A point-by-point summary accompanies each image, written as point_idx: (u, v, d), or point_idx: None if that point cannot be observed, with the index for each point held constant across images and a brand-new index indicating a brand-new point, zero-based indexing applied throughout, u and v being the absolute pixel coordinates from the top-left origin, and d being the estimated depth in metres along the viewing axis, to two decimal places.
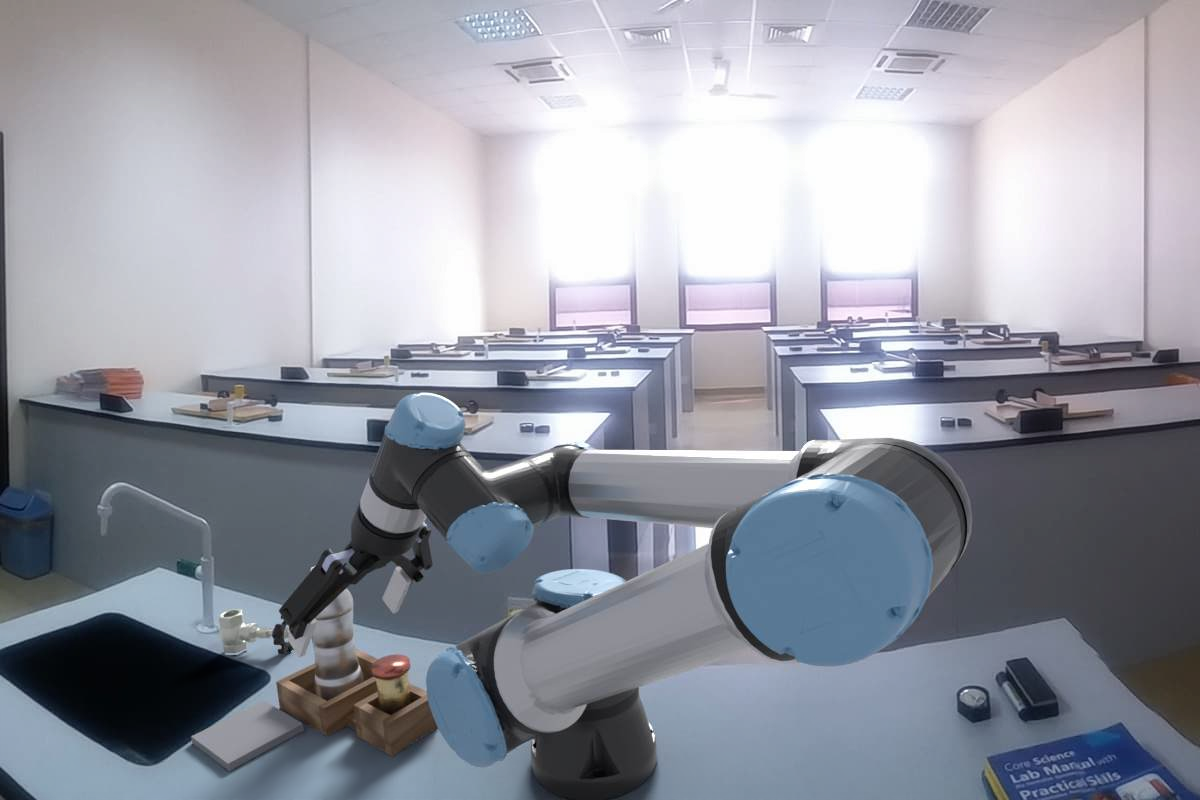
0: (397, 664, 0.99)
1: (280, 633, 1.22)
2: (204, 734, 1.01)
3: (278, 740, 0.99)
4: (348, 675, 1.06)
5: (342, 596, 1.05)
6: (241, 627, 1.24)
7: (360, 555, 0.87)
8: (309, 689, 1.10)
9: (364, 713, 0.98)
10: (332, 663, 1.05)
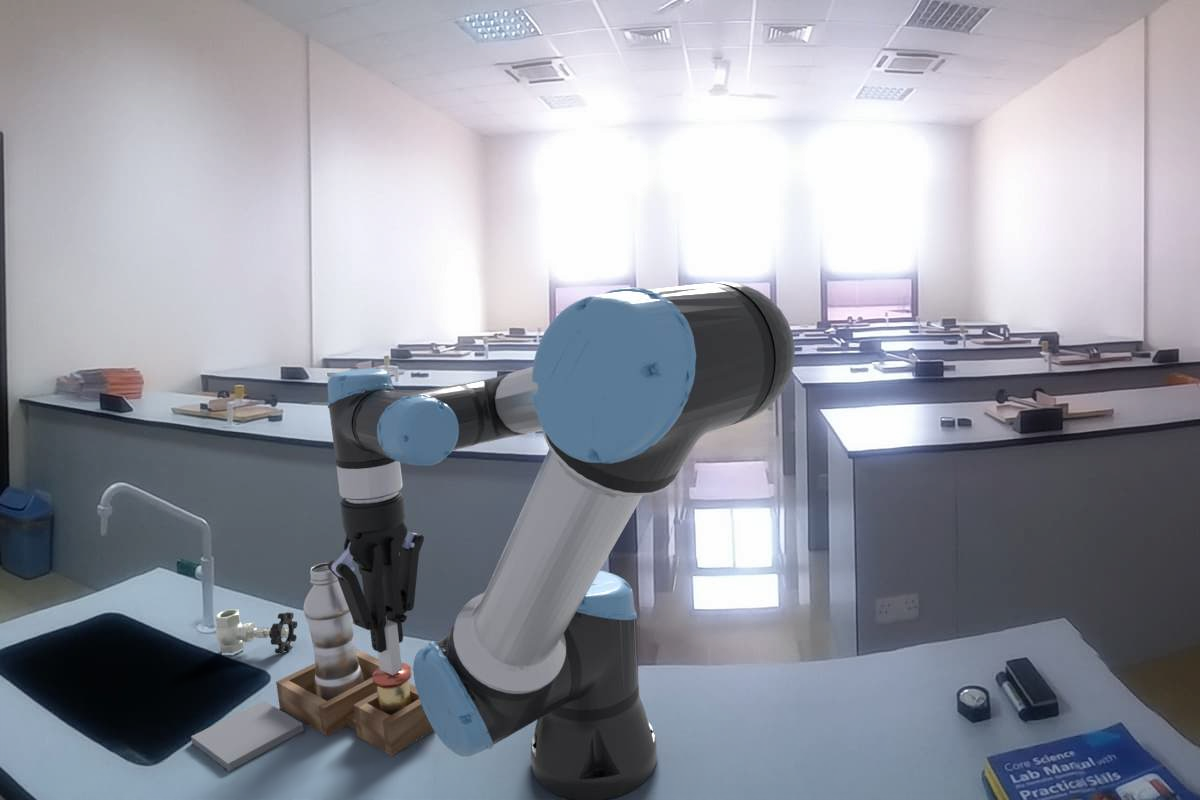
0: (398, 672, 0.99)
1: (277, 633, 1.22)
2: (204, 734, 1.01)
3: (278, 740, 0.99)
4: (348, 675, 1.06)
5: (342, 596, 1.05)
6: (238, 627, 1.24)
7: (353, 546, 0.92)
8: (309, 689, 1.10)
9: (364, 713, 0.98)
10: (332, 663, 1.05)
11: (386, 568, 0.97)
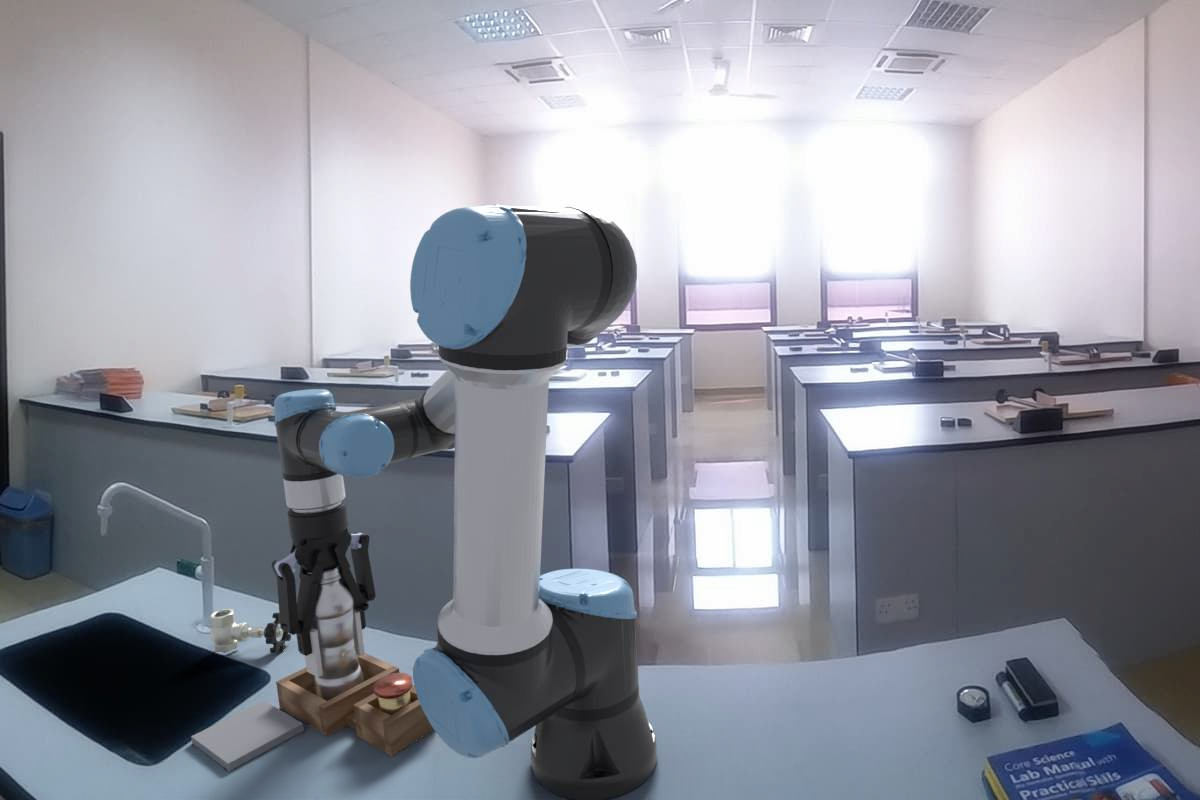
0: (399, 683, 0.99)
1: (272, 632, 1.22)
2: (204, 734, 1.01)
3: (278, 740, 0.99)
4: (348, 675, 1.06)
5: (343, 596, 1.05)
6: (232, 627, 1.24)
7: (300, 550, 1.01)
8: (309, 689, 1.10)
9: (364, 713, 0.98)
10: (332, 663, 1.05)
11: None
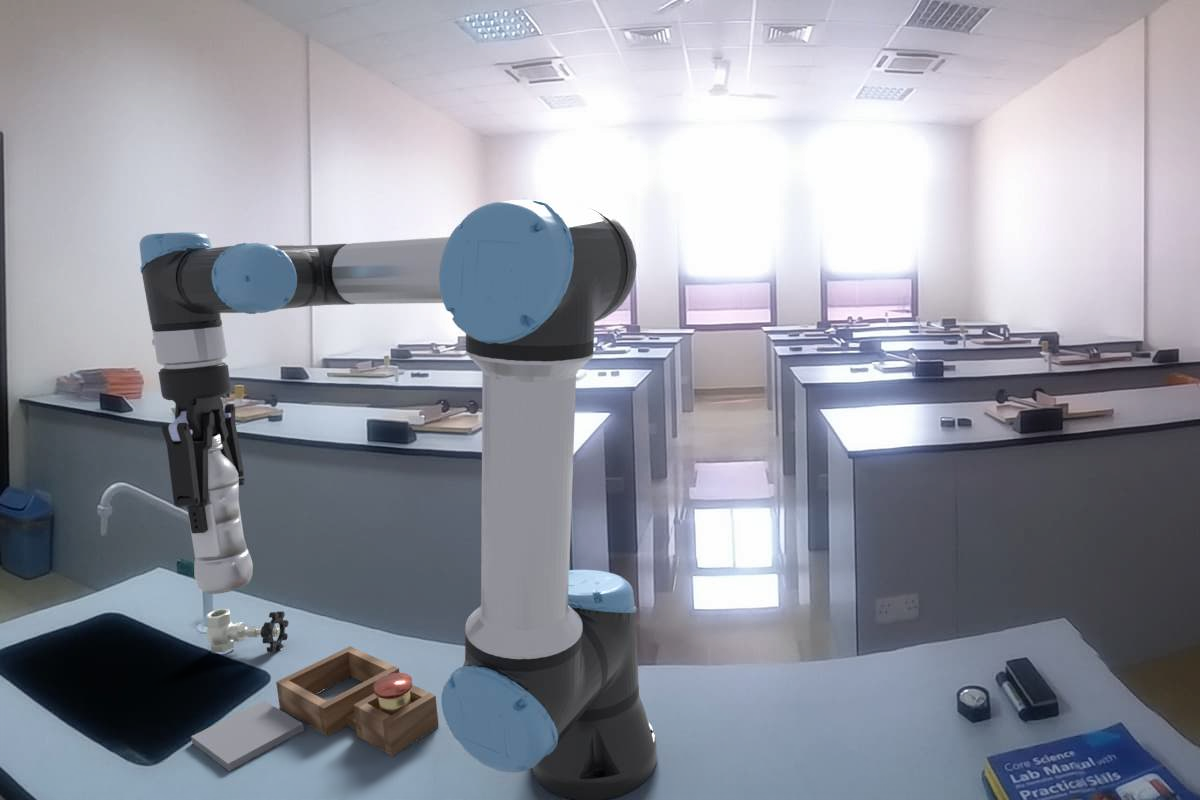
0: (399, 683, 0.99)
1: (269, 631, 1.22)
2: (204, 734, 1.01)
3: (278, 740, 0.99)
4: (242, 552, 0.97)
5: (230, 464, 0.96)
6: (229, 626, 1.25)
7: (192, 410, 0.90)
8: (309, 689, 1.10)
9: (364, 713, 0.98)
10: (228, 540, 0.95)
11: None
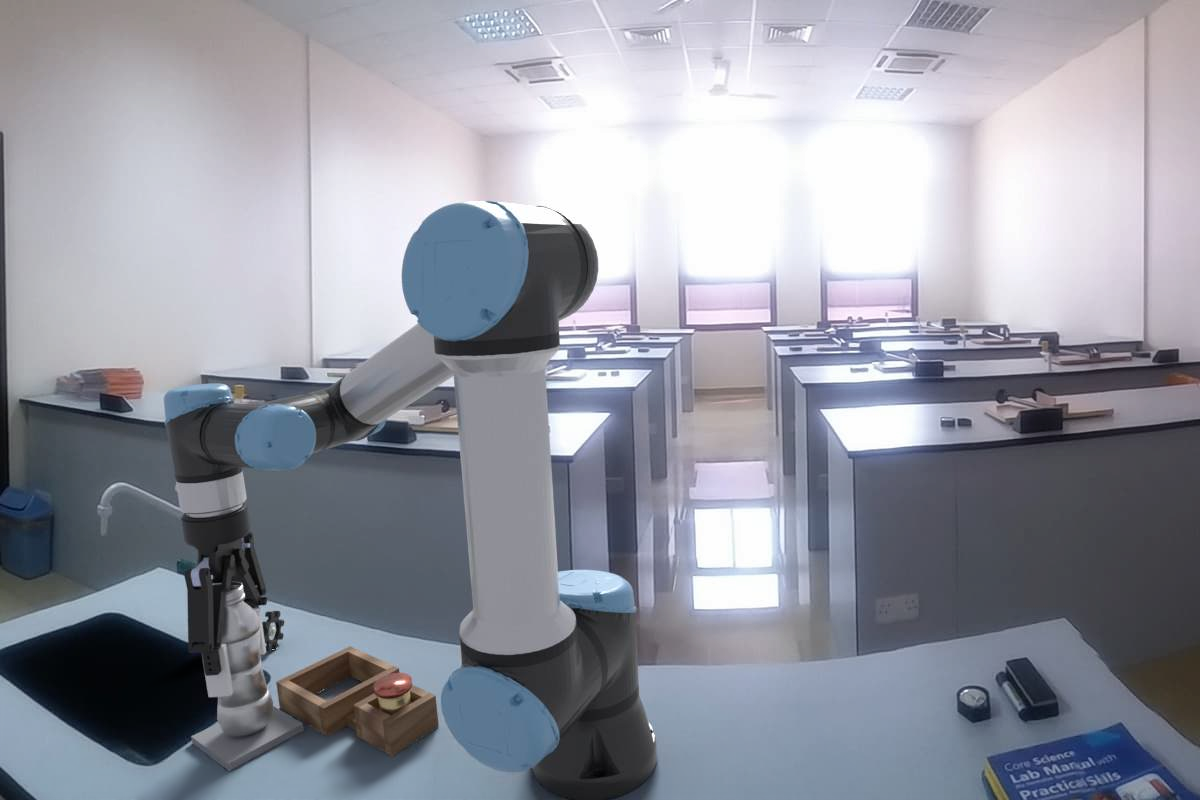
0: (399, 683, 0.99)
1: (265, 631, 1.23)
2: (204, 734, 1.01)
3: (278, 740, 0.99)
4: (264, 694, 1.00)
5: (252, 612, 0.99)
6: None
7: (215, 555, 0.93)
8: (309, 689, 1.10)
9: (364, 713, 0.98)
10: (250, 686, 0.98)
11: (237, 574, 1.00)
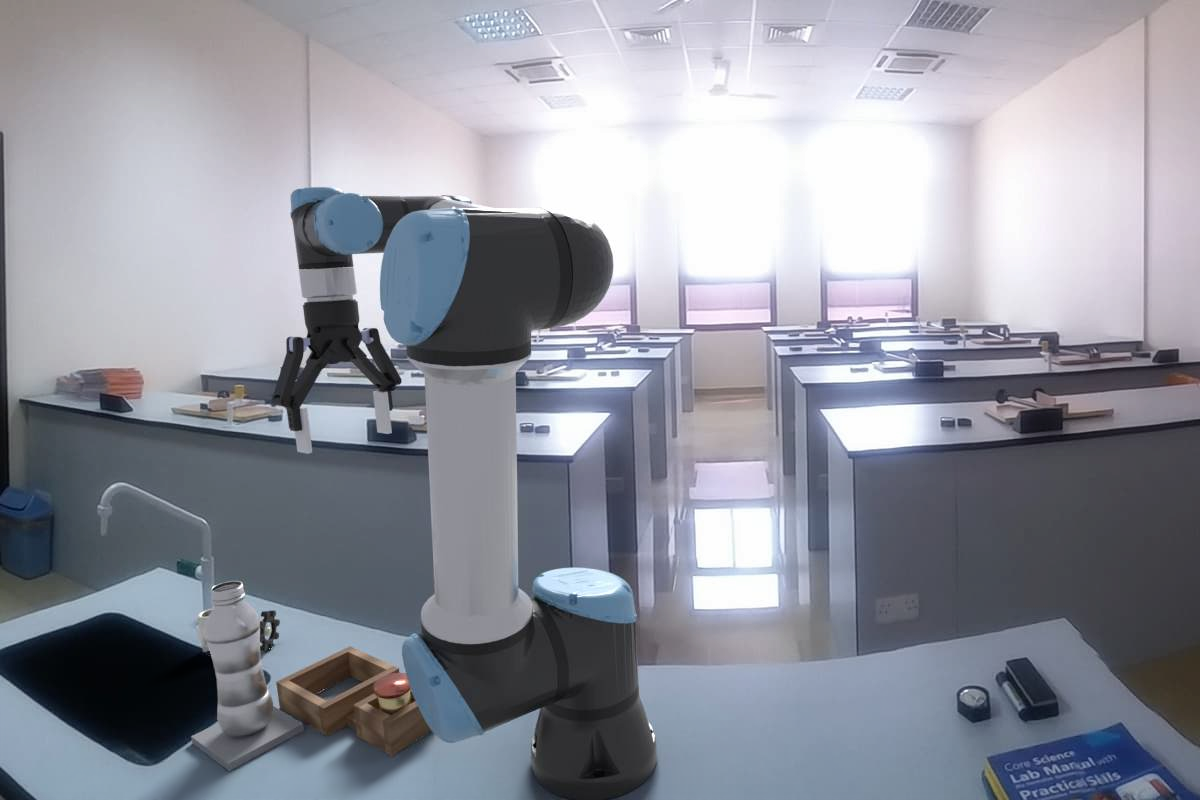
0: (399, 683, 0.99)
1: (261, 630, 1.23)
2: (204, 734, 1.01)
3: (278, 740, 0.99)
4: (264, 694, 1.01)
5: (252, 611, 0.99)
6: None
7: (316, 334, 1.09)
8: (309, 689, 1.10)
9: (364, 713, 0.98)
10: (250, 685, 0.99)
11: (357, 361, 1.15)
